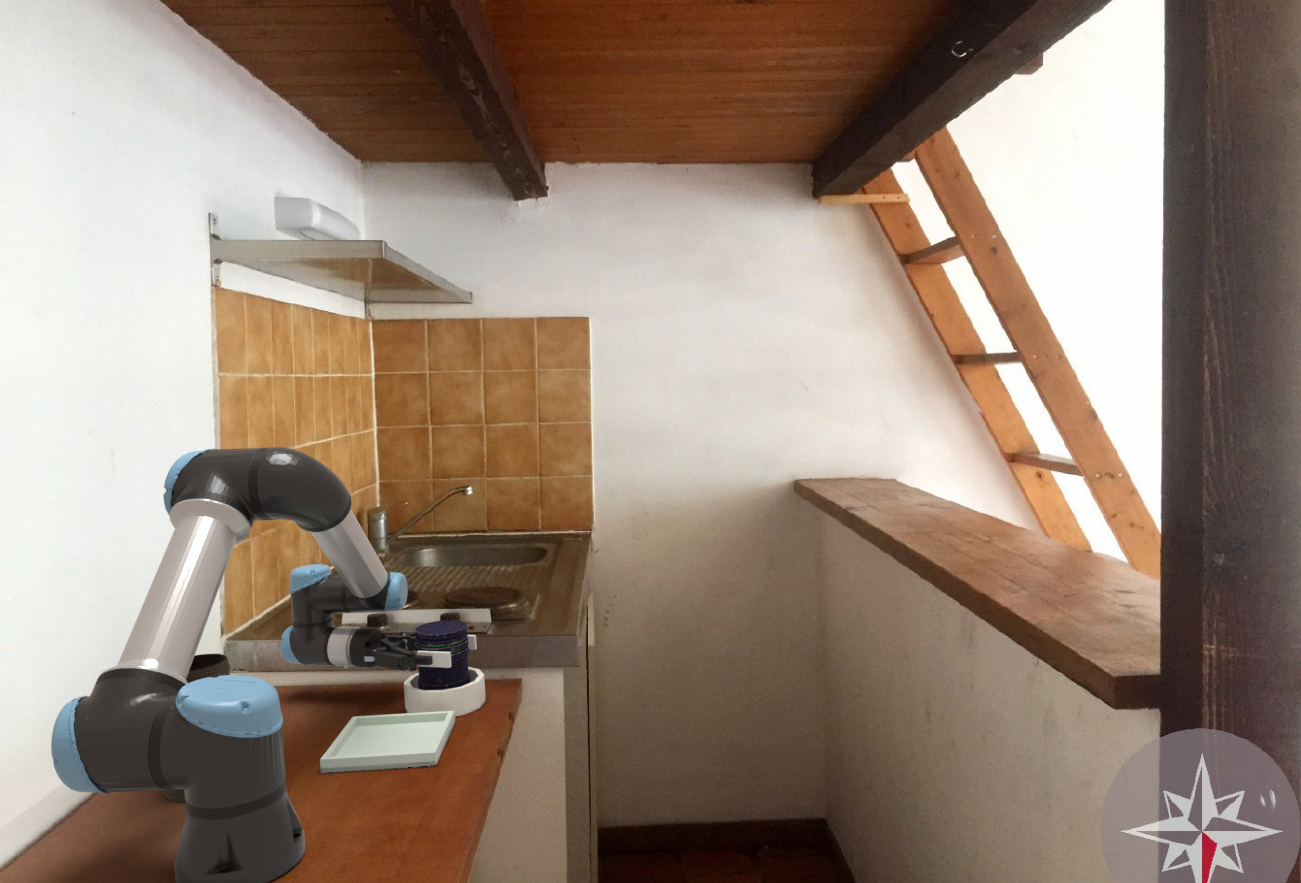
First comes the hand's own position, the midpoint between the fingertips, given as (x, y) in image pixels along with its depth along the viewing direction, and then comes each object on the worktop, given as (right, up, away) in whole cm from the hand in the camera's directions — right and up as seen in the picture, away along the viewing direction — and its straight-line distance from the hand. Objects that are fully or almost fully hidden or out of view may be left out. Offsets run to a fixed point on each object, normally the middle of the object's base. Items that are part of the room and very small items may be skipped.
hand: (463, 650), depth 164 cm
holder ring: (-4, -11, +2) cm, 11 cm away
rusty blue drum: (-4, -11, +2) cm, 12 cm away
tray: (-8, -12, -17) cm, 22 cm away
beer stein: (-36, -14, -29) cm, 49 cm away
